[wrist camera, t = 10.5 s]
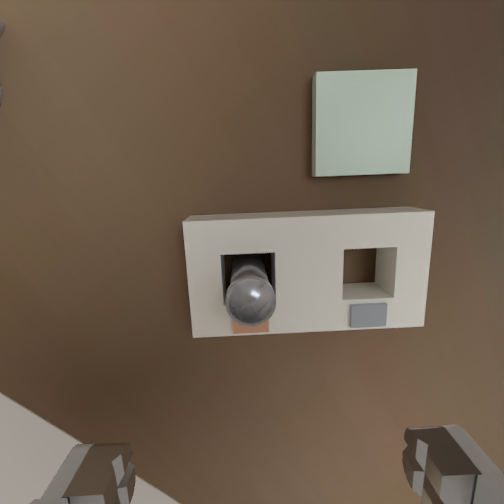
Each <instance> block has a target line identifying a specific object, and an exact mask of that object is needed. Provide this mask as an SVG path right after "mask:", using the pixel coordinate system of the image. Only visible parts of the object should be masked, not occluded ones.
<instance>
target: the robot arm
mask: <svg viewBox="0 0 504 504" xmlns="http://www.w3.org/2000/svg"><path fill="white" fill-rule="evenodd" d="M404 440H405V441H406V443H407V445H408V446H407V447H406V448H405V450H404V451H403V458H402V462H403V467H404V472H405V475H406V478H407V480H408V482H409V484H410V486H411V488H412V490H413V491H415V492H416V493H417V494H419V495H420V496H421V497H422V500H421V504H504V474H503V473H502V472H501V471H500V470H499V468H498V467H497V466H496V465H495V464H494V463H493V462H492V460H491V459H490V458H489V457H488V456H487V455H486V454H485V452H484V451H483V450H482V449H481V448H480V447H479V446H478V444H477V443H476V442H475V441H474V440H473V439H472V438H471V436H470V435H469V434H468V433H467V432H466V431H465V430H464V428H463V427H461V426H460V425H443V426H429V427H413V428H407V429H406V431H405V434H404ZM131 456H132V449H131V444H129V443H97V444H77V445H76V446H75V447H73V448H72V450H71V451H70V453H69V454H68V456H67V458H66V459H65V461H64V462H63V464H62V465H61V467H60V469H59V470H58V472H57V474H56V475H55V476H54V478H53V480H52V481H51V483H50V484H49V486H48V488H47V489H46V491H45V492H44V494H43V496H42V497H41V499H36V500H34V501H32V502H31V503H30V504H130V502H131V499H132V496H133V492H134V486H135V466H134V465H133V464H132V463H131V462H130V458H131Z"/></svg>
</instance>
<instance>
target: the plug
mask: <svg viewBox="0 0 504 504" xmlns="http://www.w3.org/2000/svg"><path fill="white" fill-rule="evenodd" d="M225 305H226V310H227V312H228V314H229V316H230V317H231V318H232V319H233V320H234V321H235V322H237V323H238V324H241V325H244V326H257V325H260V324H263V323H264V322H266V321H267V320H268V319H269V318H270V317H271V316H272V315H273V313H274V311H275V308H276V297H275V293H274V290H273V287H272V286H271V284H270V283H269V281H268V277H267V273H266V269H265V265H264V261H263V259H262V257H261V256H260V255H259V254H258V253H252V254H238V255H237V256H236V257H235V258H234V260H233V265H232V274H231V283H230V286H229V288H228V290H227V294H226V301H225Z"/></svg>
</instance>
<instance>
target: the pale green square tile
mask: <svg viewBox="0 0 504 504" xmlns="http://www.w3.org/2000/svg"><path fill="white" fill-rule="evenodd" d="M416 80H417V69H386V70H356V71H325V72H316V73H315V75H314V76H313V77H312V177H320V176H345V175H370V174H396V173H409V171H410V158H411V145H412V132H413V119H414V106H415V93H416Z"/></svg>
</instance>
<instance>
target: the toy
mask: <svg viewBox="0 0 504 504" xmlns="http://www.w3.org/2000/svg"><path fill="white" fill-rule="evenodd" d="M3 30H4V24H3V23H2V22H1V21H0V36H1V34H2V32H3ZM1 100H2V89H1V85H0V105H1Z"/></svg>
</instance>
